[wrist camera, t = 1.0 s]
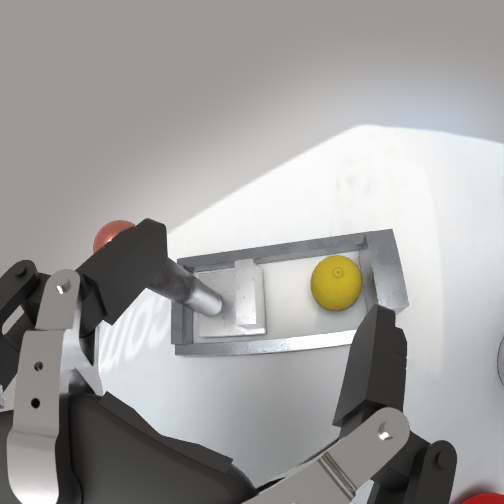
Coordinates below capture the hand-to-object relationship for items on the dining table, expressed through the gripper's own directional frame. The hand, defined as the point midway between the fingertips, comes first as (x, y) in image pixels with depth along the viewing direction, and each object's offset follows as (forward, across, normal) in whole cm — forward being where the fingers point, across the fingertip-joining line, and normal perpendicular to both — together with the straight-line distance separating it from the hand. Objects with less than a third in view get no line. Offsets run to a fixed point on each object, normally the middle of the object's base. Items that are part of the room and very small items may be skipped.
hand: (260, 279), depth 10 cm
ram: (+15, +6, +21) cm, 26 cm away
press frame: (+17, 0, +18) cm, 25 cm away
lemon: (+18, -6, +16) cm, 25 cm away
